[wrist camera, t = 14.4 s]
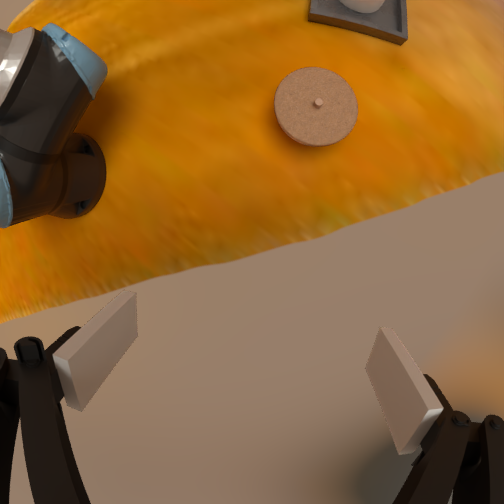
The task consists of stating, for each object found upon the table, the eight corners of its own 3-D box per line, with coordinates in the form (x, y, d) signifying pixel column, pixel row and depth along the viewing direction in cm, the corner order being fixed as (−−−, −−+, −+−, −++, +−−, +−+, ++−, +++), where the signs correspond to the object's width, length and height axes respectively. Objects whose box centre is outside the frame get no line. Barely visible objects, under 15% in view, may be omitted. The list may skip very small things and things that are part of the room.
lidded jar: (263, 95, 40) (260, 76, 31) (328, 75, 39) (341, 54, 30) (288, 159, 43) (293, 156, 34) (354, 138, 41) (374, 131, 32)
